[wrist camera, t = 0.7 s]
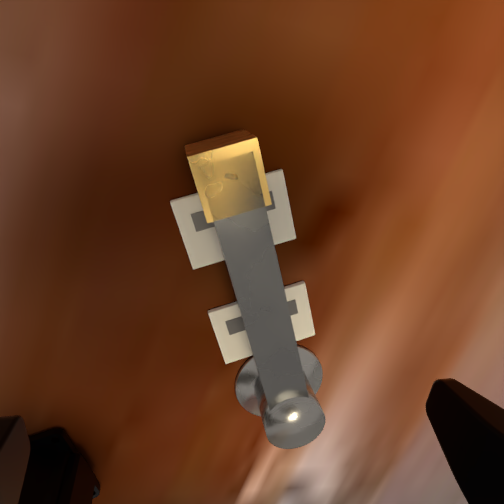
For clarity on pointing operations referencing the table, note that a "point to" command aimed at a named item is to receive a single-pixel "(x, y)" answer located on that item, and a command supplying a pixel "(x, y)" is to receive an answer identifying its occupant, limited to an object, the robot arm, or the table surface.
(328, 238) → the table surface
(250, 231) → the swing arm
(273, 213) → the label tile
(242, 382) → the pivot base
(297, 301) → the label tile
